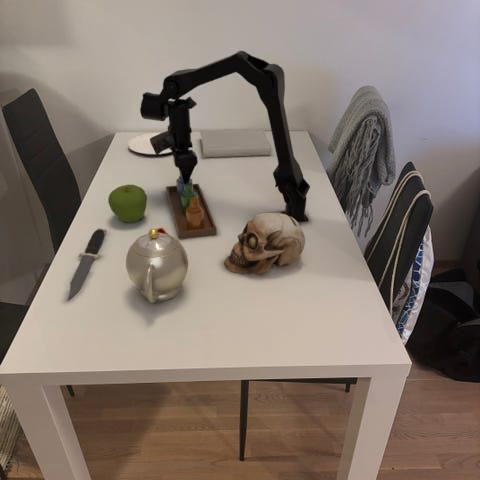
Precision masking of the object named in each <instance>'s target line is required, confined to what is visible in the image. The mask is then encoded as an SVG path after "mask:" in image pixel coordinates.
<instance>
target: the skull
mask: <svg viewBox="0 0 480 480" xmlns="http://www.w3.org/2000/svg"><path fill="white" fill-rule="evenodd" d="M299 223H300V222H297V221H296V220H295V219H294V218H292V217H290V216H287V215H285V214H281V212H262V213H261V212H260V213H258V214H255V216H254V217H253V218H252V219H249V220H248V221H247V223H246V225H245V226H244V228H243V230H242V232H241V233H240V234H238V235H237V239H238V241H237V242H236V243H235V244H234V245H233V247H232V248H231V251H230V254H229V255H228V256H227V257H226V258H225V259H224V262H223V263H224V266H225V268H226V269H227V270H229V271H231V272H233V273H238V274H247V275H257V276H262V275H263V274H265V273H266V272H267V271H268V269H269V268H270V267H271V266H278V267H279V266H280V267H287V266H289V265H290V264H292V263H294V262H296V260H297V259H298V258H299V257H300V256H301V254H303V252H304V249H305V245H306V236H305V234H304V233H305V232H304V230H303V228H302V226H301V225H300V224H299Z"/></svg>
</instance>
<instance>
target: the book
mask: <svg viewBox="0 0 480 480" xmlns="http://www.w3.org/2000/svg"><path fill="white" fill-rule="evenodd" d="M199 133H200V137H201V138H200V145H201V150H202V156H203V159H205V158H228V157H230V158H231V157H256V156H271V153H272V152H271V149H272V148H271V143H270V141H269V139H268V137H267V134H266V132H265V130H264V128H262V127H259V128H234V129H233V128H231V129H201V130H200V131H199Z"/></svg>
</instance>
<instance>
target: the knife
mask: <svg viewBox="0 0 480 480" xmlns="http://www.w3.org/2000/svg"><path fill="white" fill-rule="evenodd" d="M107 231H108V230H107V229H106V228H102V227H98V228H97V229H96V230H94V232H93V233H92V235H91V237H90V239H89V240H88V243H87V246H86V247H85V250H84V252H80V253H79V254H78V255H77V257H78V258H81V260H80V261H79V263H78V265H77V267H76V269H75V272H74V274H73V275H72V278H71V281H70V284H69V285H70V289H69V294H68V297H67V301H69V300H70V299H72V298H74V296H76V295H77V294H78V293H79V292H80V290H81V288H82V287H83V285H84V282H85V280H86V278H87V275H88V273H89V270H90V268H91V266H92V264H93V261H94V260H98V259H99V258H100V254H97V253H98V251H99V248H100V247H101V244H102V242H103V240H104V237H105V234H107Z"/></svg>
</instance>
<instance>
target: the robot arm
mask: <svg viewBox="0 0 480 480" xmlns="http://www.w3.org/2000/svg"><path fill="white" fill-rule="evenodd" d="M235 73H236V74H239V75H240V76H241V77H242V78H243V79H244V80H245V81H246V82H248V84H250V85H252V86H253V87H255V88H256V91H257V94H258V96H259V99H260V101H261V102H262V104H263V105H264V107H265V108H266V112H267V116H268V121H269V125H270V131H271V135H272V140H273V145H274V150H275V153H276V154H275V155H276V157H277V166H276V168H275V169H274V170H273V171H272V176H273V180H274V182H275V186H274V187H275V188H277V190H278V192H279V193H280V194H282V198H283V201H284V203H285V207H284V208H285V209H284V210H281V211H280V213H281V214H285V215H287V216H290V217H292V218H294V219H295V220H296V221H297V222H298V223H304V222H309V220H310V219H309V217H308V216H307V215H306V207H307V194H308V193H309V191H310V188H311V184H309V182H308V181H307V180H306V179H305V178H304V173H303V171H302V168H301V166H300V163H299V162H298V160H297V159H296V157H295V154H294V149H293V144H292V139H291V138H292V137H291V134H290V129H289V123H288V119H287V113H286V108H285V92H286V86H285V85H286V82H285V81H286V79H285V77H286V76H285V71H284V69H283V68H282V66H280V65H279V64H276V63H269V62H267V61H266V60H264V59H262V58H259V57H256V56H254V55H252V54H249V52H246V51H245V50H238V51H237V52H235V53H234V54H231V55H229V56H226V57H224V58H221V59H219V60H218V59H217V60H216V61H213V62H211V63H207V64H205V65H203V66H200V67H197V68H185V69H179V70H176V71H174V72H173V73H171V74H169V75H168V76H166V77H165V78H164V79H163V82H162V90H161V91H160V92H159V93H152V92H150V91H146V92H143V93H142V99H141V102H140V107H139V113H140V116H141V118H142V119H143V120H149V121H156V122H165V121H166V120H167V118H168V123H169V124H168V125H167V130H166V131H163V132H159V133H160V134H158V135H156V136H154V137H152V138H150V142H151V145H152V147H153V149H154V151H155V153H156V154H159V153H161V152H162V151H164V150H166V149H168V148H169V149H170V150H171V151H172V152H171V153H173V154H172V159H173V164H174V166H175V168H177V169H178V170H179V172H180V171H181V175H182V178H183V182H184V184H186V183H188V182H189V179H190V178H191V177H192V175H193V172H194V170H195V168H196V166H198V164H199V163H198V156H197V153H196V152H195V151H194V150H193V149H191V148H193V142H192V133H193V132H192V131H193V130H192V127H191V113H190V110H192V109H193V108H195V107H197V105H198V103H197V102H196V101H195V100H194V99H193V98H192V96H188V97H186V98H182V97H184V96H185V95H187V94H188V93H190V92H192V91H193V90H194V89H196V88H197V87H200V86H202V85H205V84H207V83H211V82H214V81H216V80H218V79H221V78H224V77H227V76H230V75H232V74H235Z"/></svg>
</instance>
